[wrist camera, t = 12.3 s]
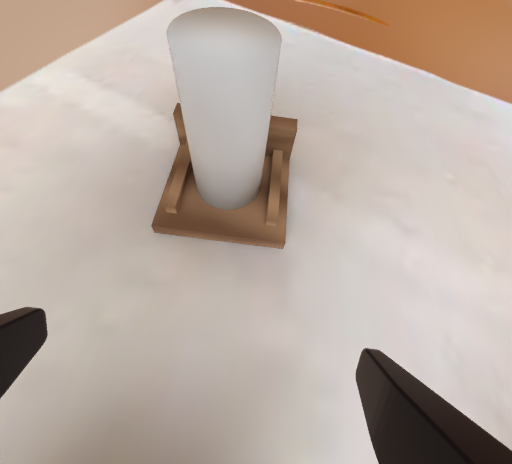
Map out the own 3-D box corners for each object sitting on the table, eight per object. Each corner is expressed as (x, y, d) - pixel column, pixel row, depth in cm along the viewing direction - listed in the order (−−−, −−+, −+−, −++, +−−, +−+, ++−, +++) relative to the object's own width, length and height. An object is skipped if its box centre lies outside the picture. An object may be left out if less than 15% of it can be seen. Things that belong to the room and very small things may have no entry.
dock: (282, 248, 24) (293, 221, 20) (155, 232, 24) (137, 200, 19) (288, 156, 30) (297, 119, 26) (185, 142, 30) (177, 102, 25)
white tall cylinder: (236, 221, 24) (239, 80, 12) (182, 188, 25) (141, 34, 14) (272, 178, 26) (301, 32, 15) (222, 150, 28) (214, -3, 16)
